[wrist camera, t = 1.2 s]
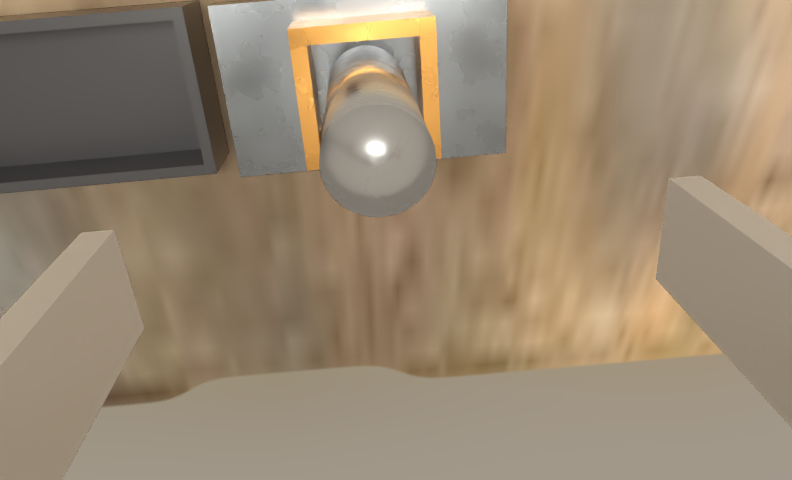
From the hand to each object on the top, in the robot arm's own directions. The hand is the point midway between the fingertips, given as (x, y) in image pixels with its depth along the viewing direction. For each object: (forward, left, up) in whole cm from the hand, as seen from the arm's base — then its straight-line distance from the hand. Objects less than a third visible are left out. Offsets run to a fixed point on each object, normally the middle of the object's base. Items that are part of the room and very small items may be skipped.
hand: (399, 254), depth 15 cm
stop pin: (0, 0, -20) cm, 20 cm away
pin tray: (-17, 0, -25) cm, 30 cm away
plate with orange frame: (0, 0, -25) cm, 25 cm away
